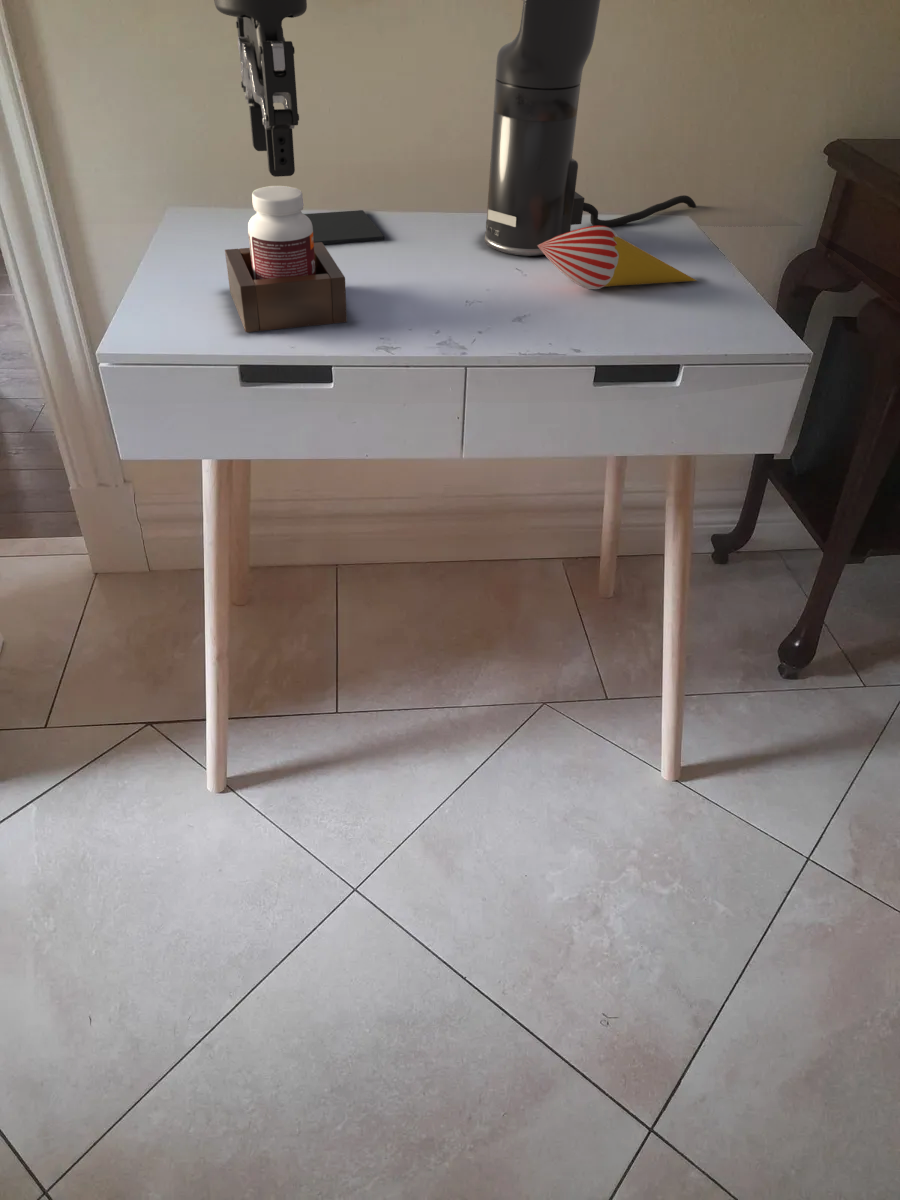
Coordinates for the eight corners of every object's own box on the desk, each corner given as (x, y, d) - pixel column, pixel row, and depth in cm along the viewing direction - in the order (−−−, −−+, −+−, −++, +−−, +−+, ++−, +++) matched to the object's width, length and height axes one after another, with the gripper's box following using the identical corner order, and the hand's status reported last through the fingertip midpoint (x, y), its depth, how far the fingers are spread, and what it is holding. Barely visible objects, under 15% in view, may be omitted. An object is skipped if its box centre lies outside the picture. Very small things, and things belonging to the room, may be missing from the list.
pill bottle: (328, 312, 89) (322, 197, 82) (272, 324, 87) (260, 206, 80) (301, 291, 93) (292, 179, 86) (246, 302, 91) (233, 188, 83)
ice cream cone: (684, 321, 102) (526, 290, 95) (677, 274, 104) (522, 240, 97) (717, 289, 96) (552, 253, 89) (710, 240, 98) (548, 201, 91)
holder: (324, 284, 95) (322, 241, 92) (347, 322, 88) (345, 277, 85) (230, 293, 92) (224, 249, 89) (245, 332, 85) (240, 286, 82)
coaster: (363, 213, 113) (362, 209, 113) (384, 239, 106) (384, 236, 106) (285, 218, 111) (284, 215, 110) (301, 246, 103) (301, 242, 103)
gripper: (322, -47, 67) (331, 183, 77) (286, -65, 77) (298, 140, 87) (220, -50, 65) (244, 187, 75) (197, -67, 75) (221, 143, 85)
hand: (273, 162), depth 81 cm, fingers open, 8 cm apart
